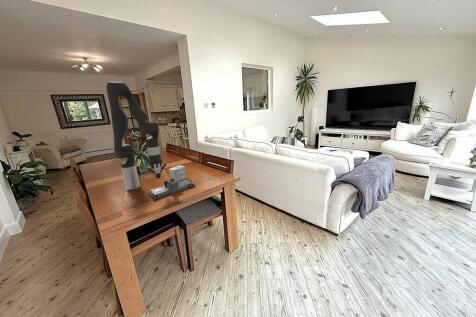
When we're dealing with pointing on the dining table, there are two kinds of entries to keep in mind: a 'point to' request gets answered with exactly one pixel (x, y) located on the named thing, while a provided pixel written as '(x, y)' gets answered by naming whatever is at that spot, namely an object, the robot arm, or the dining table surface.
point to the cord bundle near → (153, 196)
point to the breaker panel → (165, 189)
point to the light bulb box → (177, 173)
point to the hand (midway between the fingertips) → (158, 178)
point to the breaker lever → (166, 176)
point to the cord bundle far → (191, 185)
